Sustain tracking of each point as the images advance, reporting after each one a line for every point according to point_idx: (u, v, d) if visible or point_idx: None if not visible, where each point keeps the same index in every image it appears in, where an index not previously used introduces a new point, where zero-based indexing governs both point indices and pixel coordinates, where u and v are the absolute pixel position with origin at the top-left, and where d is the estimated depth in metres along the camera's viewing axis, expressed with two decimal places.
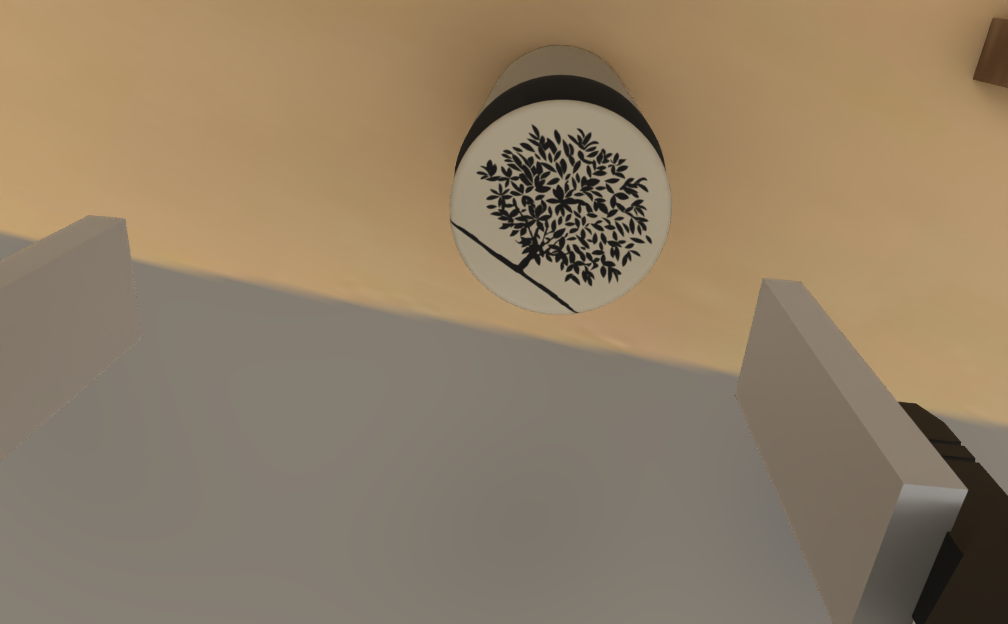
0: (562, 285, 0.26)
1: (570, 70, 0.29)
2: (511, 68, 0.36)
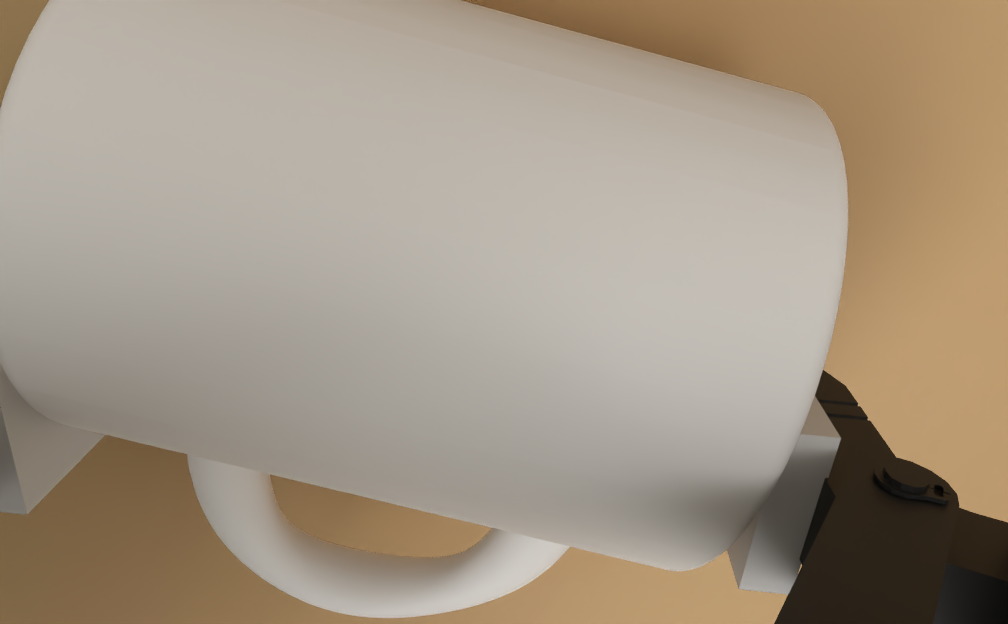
0: None
1: None
2: None
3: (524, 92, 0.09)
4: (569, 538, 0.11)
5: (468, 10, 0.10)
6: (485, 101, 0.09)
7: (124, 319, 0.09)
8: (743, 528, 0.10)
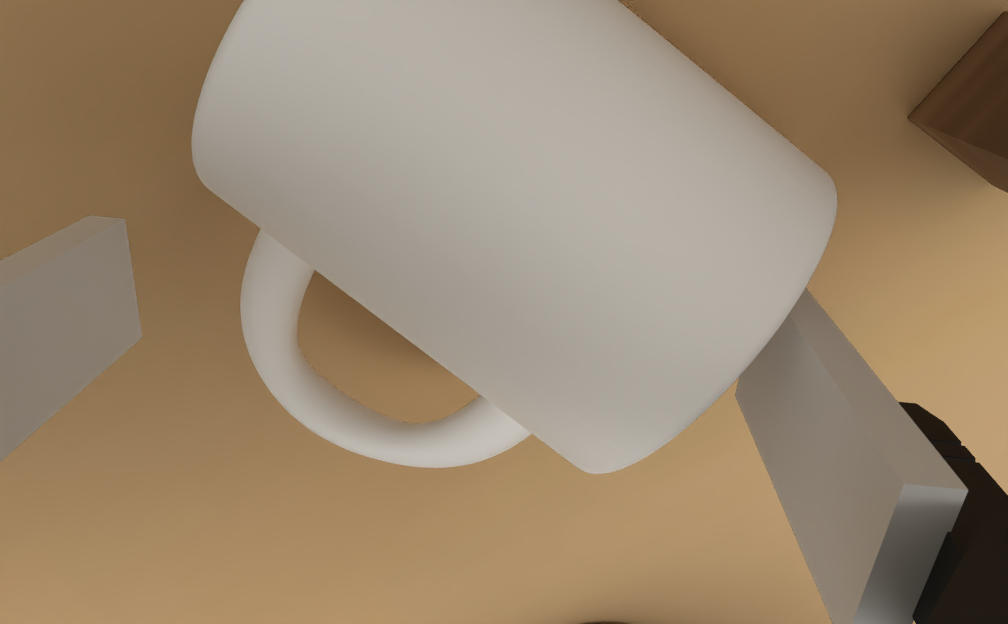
0: None
1: None
2: None
3: (644, 77, 0.12)
4: (534, 409, 0.14)
5: (623, 8, 0.13)
6: (616, 71, 0.12)
7: (310, 108, 0.12)
8: (664, 441, 0.13)
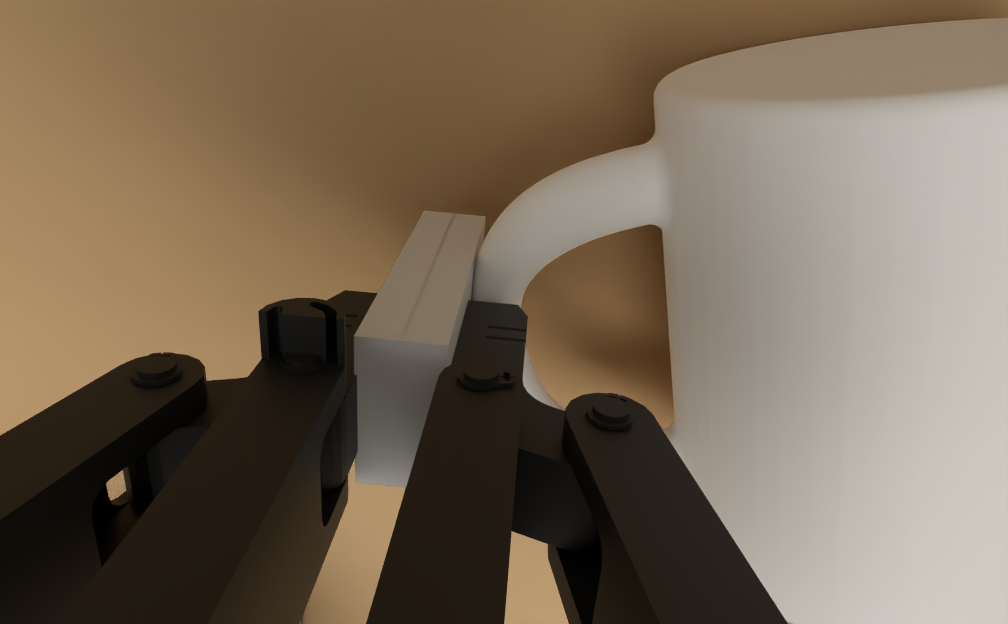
0: None
1: None
2: None
3: None
4: (795, 547, 0.13)
5: None
6: None
7: (990, 227, 0.10)
8: None
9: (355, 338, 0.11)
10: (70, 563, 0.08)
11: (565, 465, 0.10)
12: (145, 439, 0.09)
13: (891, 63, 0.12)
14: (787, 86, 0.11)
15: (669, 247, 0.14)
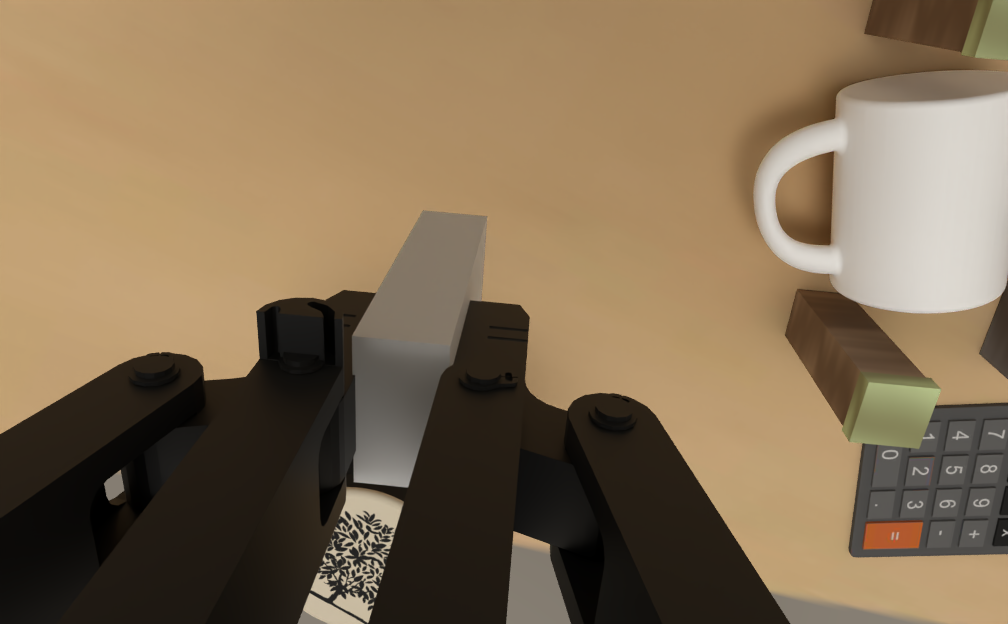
0: (366, 613, 0.31)
1: None
2: None
3: None
4: (894, 272, 0.35)
5: None
6: None
7: (967, 141, 0.31)
8: (926, 312, 0.35)
9: (353, 338, 0.11)
10: (69, 563, 0.08)
11: (567, 465, 0.10)
12: (143, 439, 0.09)
13: (932, 89, 0.33)
14: (897, 97, 0.33)
15: (843, 159, 0.35)
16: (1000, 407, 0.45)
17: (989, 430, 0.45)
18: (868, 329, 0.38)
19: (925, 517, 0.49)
